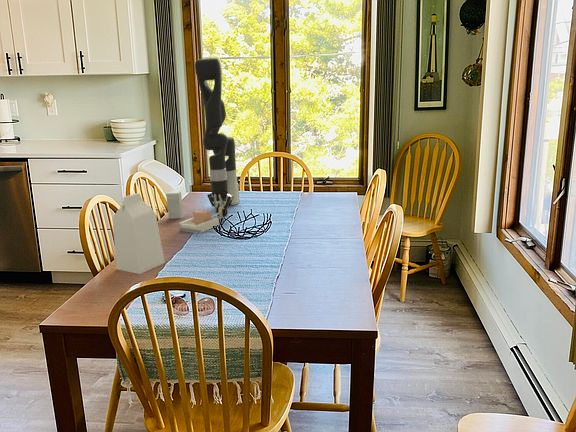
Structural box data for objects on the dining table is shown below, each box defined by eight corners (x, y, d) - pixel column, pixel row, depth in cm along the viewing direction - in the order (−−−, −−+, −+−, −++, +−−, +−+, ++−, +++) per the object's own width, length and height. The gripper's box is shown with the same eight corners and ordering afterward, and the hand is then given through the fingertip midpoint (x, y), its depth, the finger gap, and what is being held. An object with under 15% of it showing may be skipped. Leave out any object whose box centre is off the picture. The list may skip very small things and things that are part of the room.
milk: (139, 274, 193) (130, 200, 186) (116, 269, 199) (106, 197, 192) (164, 262, 202) (156, 192, 195) (141, 258, 208) (133, 190, 201)
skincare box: (183, 216, 263) (181, 191, 260) (181, 218, 259) (178, 193, 256) (171, 216, 264) (168, 191, 261) (168, 218, 260) (165, 193, 257)
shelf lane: (200, 222, 251) (199, 215, 250) (219, 225, 245) (218, 217, 244) (180, 230, 240) (179, 222, 239) (199, 233, 235) (199, 225, 234)
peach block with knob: (218, 215, 258) (217, 202, 256) (229, 216, 255) (228, 204, 253) (194, 225, 244) (192, 212, 242) (204, 227, 241) (203, 213, 239)
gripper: (236, 178, 250) (239, 215, 254) (212, 176, 257) (215, 212, 262) (225, 181, 244) (228, 219, 248) (201, 179, 251) (204, 216, 256)
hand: (221, 215), depth 255 cm, fingers closed on peach block with knob, 2 cm apart
